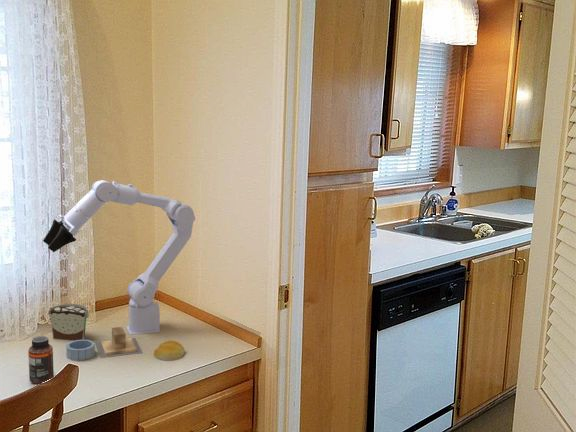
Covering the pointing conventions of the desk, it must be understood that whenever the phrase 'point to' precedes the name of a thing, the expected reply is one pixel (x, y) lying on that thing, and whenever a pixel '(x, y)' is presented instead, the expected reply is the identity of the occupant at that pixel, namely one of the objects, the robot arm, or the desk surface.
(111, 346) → the lid
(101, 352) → the mat
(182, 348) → the bread roll
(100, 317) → the desk surface
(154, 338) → the desk surface
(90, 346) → the bowl
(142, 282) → the robot arm
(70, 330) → the food container
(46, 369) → the supplement bottle
